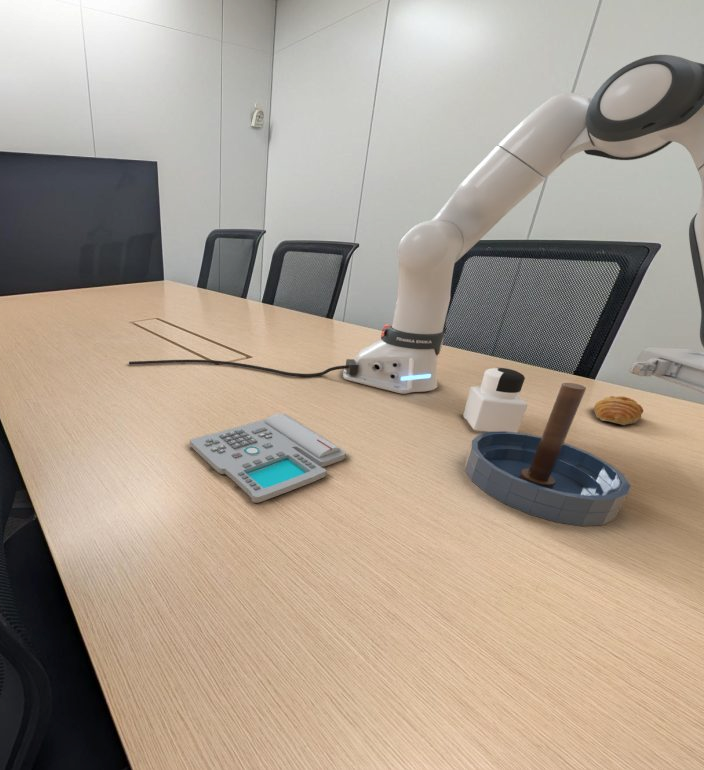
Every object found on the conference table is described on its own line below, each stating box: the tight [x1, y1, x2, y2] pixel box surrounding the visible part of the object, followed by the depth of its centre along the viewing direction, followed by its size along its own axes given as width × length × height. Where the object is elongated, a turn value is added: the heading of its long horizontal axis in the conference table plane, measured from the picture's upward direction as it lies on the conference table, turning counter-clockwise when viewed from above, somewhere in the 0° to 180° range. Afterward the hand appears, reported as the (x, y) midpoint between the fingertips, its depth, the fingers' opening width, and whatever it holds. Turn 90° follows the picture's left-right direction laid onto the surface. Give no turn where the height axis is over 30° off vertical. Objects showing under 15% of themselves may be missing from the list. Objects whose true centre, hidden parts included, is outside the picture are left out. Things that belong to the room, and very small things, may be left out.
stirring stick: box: [519, 382, 587, 489], centre depth 55 cm, size 4×4×17 cm
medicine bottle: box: [462, 367, 528, 433], centre depth 73 cm, size 7×7×12 cm
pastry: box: [593, 395, 644, 426], centre depth 77 cm, size 9×7×4 cm
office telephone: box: [189, 413, 346, 504], centre depth 68 cm, size 23×3×20 cm
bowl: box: [464, 431, 632, 527], centre depth 57 cm, size 18×18×5 cm
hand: (670, 381), depth 50 cm, fingers open, 8 cm apart
